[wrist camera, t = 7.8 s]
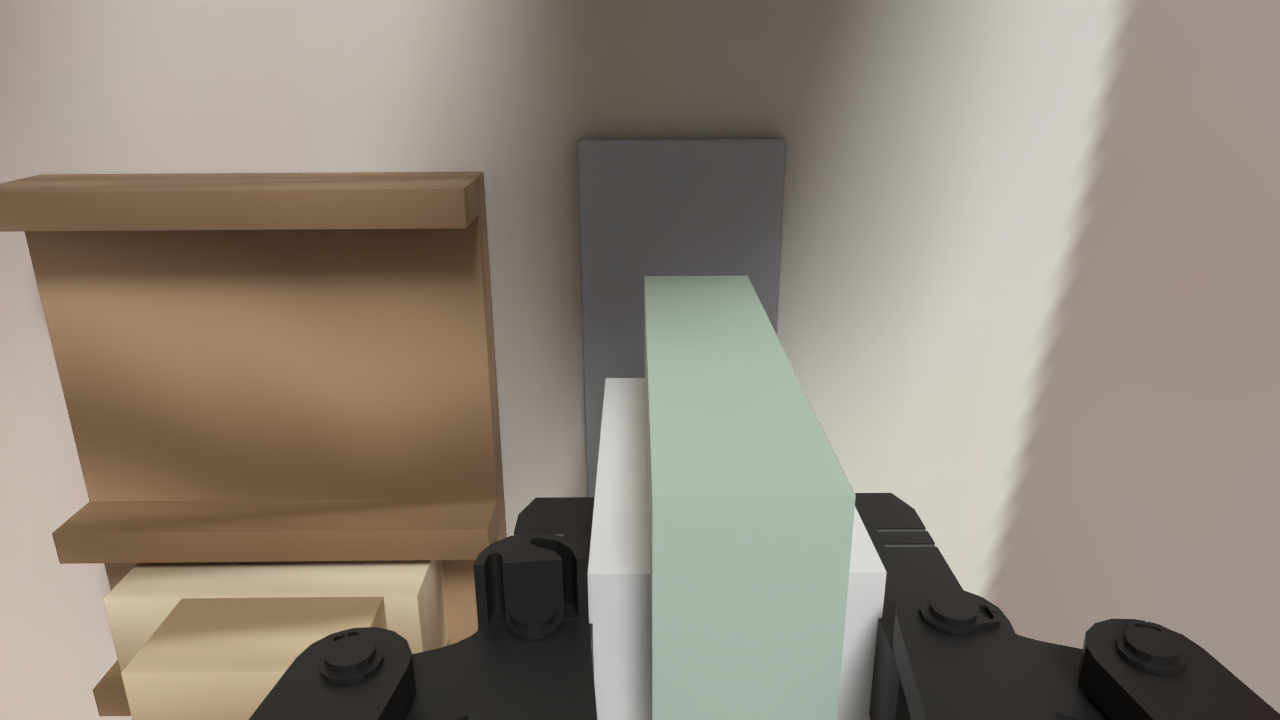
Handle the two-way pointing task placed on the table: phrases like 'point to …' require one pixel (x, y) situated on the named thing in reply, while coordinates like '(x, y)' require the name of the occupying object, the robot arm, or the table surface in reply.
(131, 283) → the rack
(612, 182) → the mat
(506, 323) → the table surface
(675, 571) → the sheet
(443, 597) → the block
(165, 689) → the offcut top
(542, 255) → the table surface
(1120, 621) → the robot arm
